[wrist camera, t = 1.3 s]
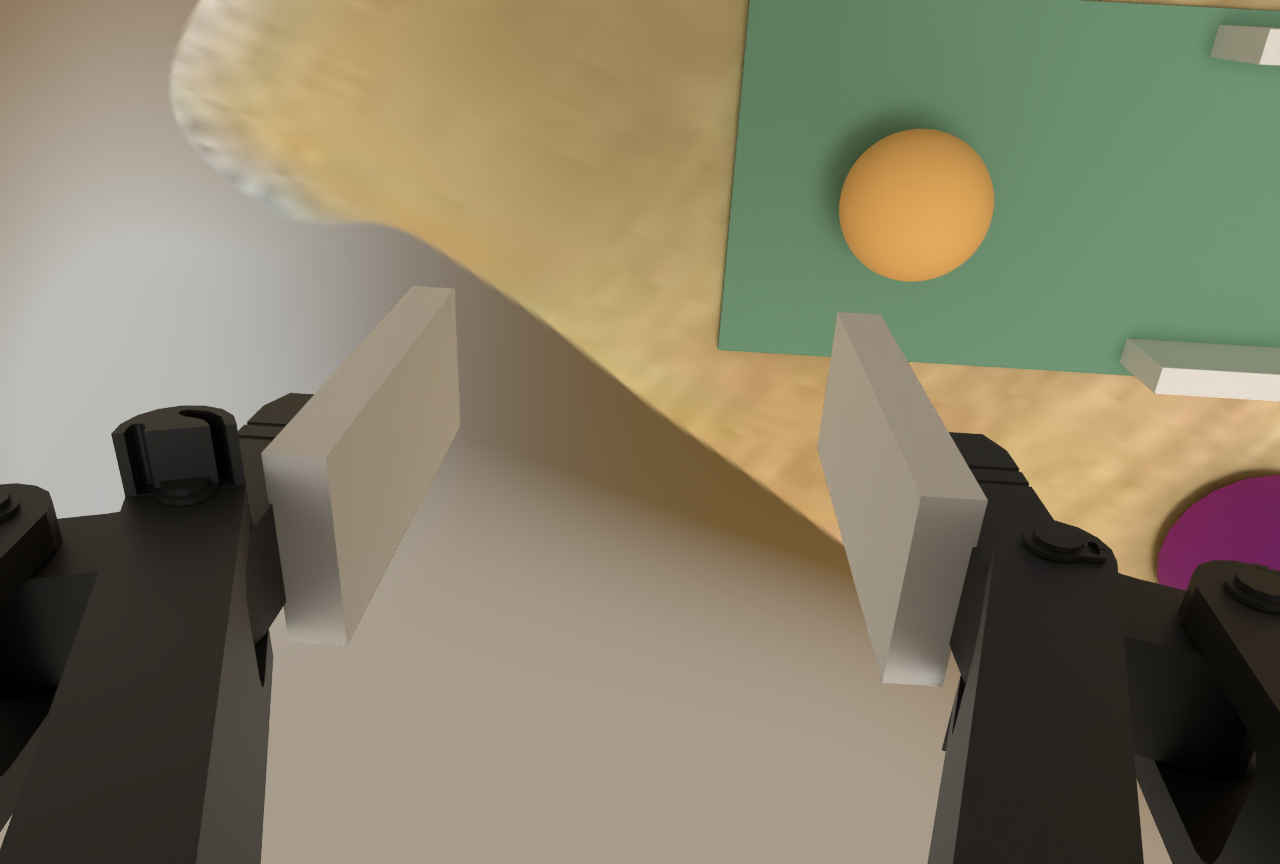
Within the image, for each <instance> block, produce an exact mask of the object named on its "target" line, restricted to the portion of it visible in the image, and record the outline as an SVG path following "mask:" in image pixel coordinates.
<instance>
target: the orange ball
mask: <svg viewBox="0 0 1280 864" xmlns="http://www.w3.org/2000/svg"><path fill="white" fill-rule="evenodd" d="M993 210H994V190H993V184H992V181H991V177H990V174H989V172H988V170H987V167H986V165H985V164H984V162H983V160H982V159H981V157H980V156H979V155H978V154H977V153H976V152H975V150H973V149H972V148H971V147H970V146H969V145H968V144H967V143H965V142H964V141H962V140H961V139H959V138H958V137H956V136H953V135H951V134H949V133H946V132H942V131H938V130H933V129H911V130H905V131H901V132H898V133H894V134H892V135H890V136H887V137H885V138H883V139H882V140H880V141H878V142H876V143H875V144H874V145H872V146H871V147H870V148H868V149H867V150H866V151H865V152H864V153H863V154H862V155H861V156H860V157H859V159H858V160H857V161H856V162H855V163H854V165H853V167H852V168H851V170H850V171H849V173H848V175H847V177H846V179H845V182H844V185H843V188H842V191H841V196H840V203H839V219H840V224H841V229H842V232H843V235H844V238H845V240H846V242H847V244H848V246H849V248H850V249H851V251H852V252H853V254H854V255H855V256H856V257H857V258H858V259H859V260H860V261H861V262H862V263H863V264H864V265H865V266H866V267H868V268H869V269H870V270H872V271H874V272H875V273H877V274H879V275H882V276H884V277H887V278H890V279H893V280H897V281H905V282H917V281H925V280H930V279H934V278H937V277H940V276H942V275H945V274H947V273H949V272H951V271H953V270H954V269H956V268H957V267H959V266H960V265H962V264H963V263H964V262H965V261H966V260H967V259H969V258H970V257H971V255H972V254H973V253H974V252H975V251H976V250H977V248H978V247H979V246H980V244H981V243H982V241H983V239H984V238H985V236H986V234H987V231H988V229H989V227H990V223H991V220H992V216H993Z"/></svg>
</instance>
